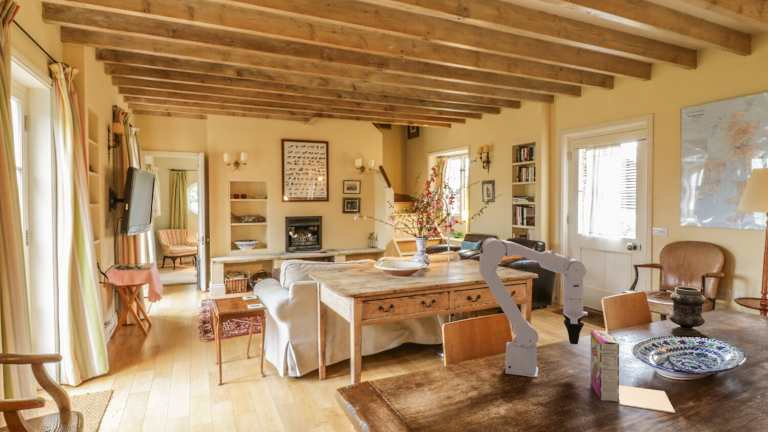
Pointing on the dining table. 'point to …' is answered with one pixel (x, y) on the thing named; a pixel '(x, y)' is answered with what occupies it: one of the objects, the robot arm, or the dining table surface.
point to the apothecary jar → (687, 310)
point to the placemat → (644, 399)
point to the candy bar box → (605, 365)
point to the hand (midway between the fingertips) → (573, 340)
